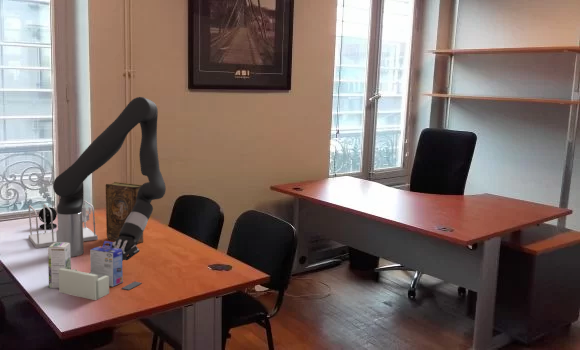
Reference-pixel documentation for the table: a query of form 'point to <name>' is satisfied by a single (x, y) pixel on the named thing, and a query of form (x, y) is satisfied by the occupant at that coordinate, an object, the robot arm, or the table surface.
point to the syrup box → (58, 261)
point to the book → (119, 207)
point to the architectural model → (85, 214)
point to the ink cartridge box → (107, 263)
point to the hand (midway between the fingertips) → (112, 268)
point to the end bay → (83, 284)
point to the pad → (131, 285)
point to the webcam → (47, 218)
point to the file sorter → (50, 237)
